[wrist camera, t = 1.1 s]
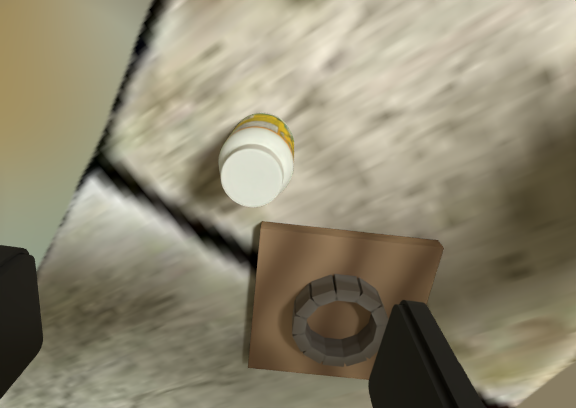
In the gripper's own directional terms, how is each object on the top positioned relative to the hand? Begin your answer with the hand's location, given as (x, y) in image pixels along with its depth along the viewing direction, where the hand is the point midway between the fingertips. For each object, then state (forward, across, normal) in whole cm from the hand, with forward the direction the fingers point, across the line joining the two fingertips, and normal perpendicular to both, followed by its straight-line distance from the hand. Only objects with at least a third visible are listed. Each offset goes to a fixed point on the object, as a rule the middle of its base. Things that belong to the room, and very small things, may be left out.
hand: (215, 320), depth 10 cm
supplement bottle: (+24, 0, +1) cm, 24 cm away
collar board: (+24, -10, +16) cm, 31 cm away
